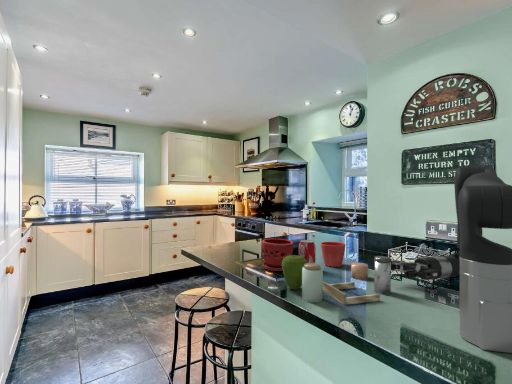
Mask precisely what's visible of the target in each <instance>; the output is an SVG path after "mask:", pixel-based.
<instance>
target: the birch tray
mask: <svg viewBox="0 0 512 384" xmlns="http://www.w3.org/2000/svg"><path fill="white" fill-rule="evenodd" d="M355 288H356V283H355V282H354V281H353V282H352V281H350V282H339V283H331V284H330V283H327V282H325V281H324V280H323V284H322V293H323V292H324V293H325V294H326V295H327V296H330V297H331V298H332V299H333V300H335V301H337V302H339V303H341V304H342V305H343V306H347V305H348V306H349V305H355V304H363V303H372V302H380V301H381V294H379V293H375V294H374V293H373V294H367V295H358V296H348V297H347V294H346V293H345V292H343V291H342V290H348V289H355ZM339 289H340V290H339Z"/></svg>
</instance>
